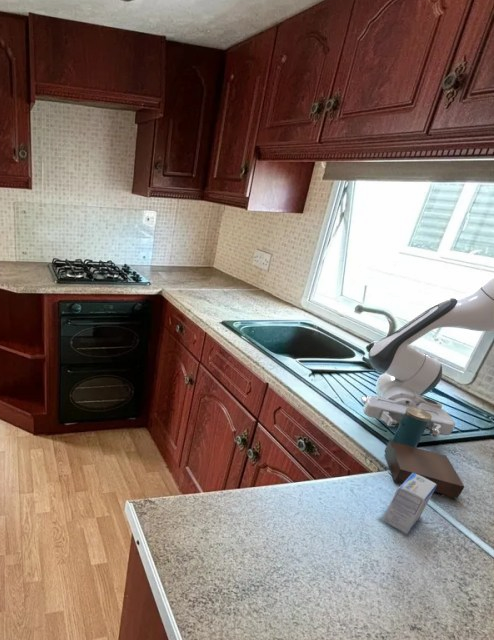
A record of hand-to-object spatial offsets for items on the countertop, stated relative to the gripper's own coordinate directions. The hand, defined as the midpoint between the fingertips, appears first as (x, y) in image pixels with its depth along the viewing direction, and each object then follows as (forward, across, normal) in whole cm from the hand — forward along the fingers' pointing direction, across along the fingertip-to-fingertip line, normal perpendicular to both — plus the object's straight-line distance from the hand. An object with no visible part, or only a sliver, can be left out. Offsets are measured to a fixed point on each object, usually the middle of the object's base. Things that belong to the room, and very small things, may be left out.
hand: (413, 429), depth 101 cm
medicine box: (+30, -7, +6) cm, 31 cm away
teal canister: (-1, 0, +6) cm, 6 cm away
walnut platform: (+12, 0, +6) cm, 13 cm away
